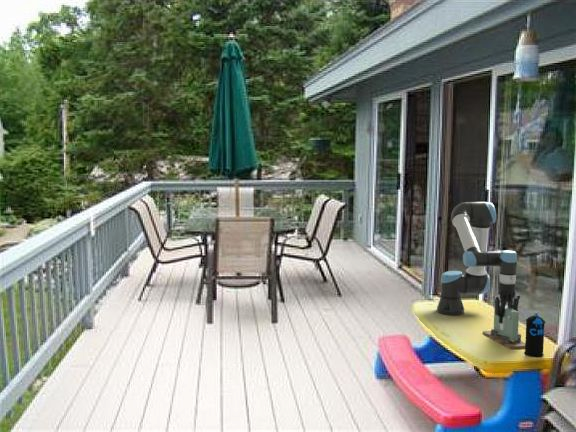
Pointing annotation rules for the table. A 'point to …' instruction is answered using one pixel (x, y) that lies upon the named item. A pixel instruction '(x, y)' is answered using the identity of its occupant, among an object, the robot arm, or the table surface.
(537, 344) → the aerosol can
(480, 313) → the table surface
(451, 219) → the robot arm
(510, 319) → the door
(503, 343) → the hinge board
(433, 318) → the table surface
